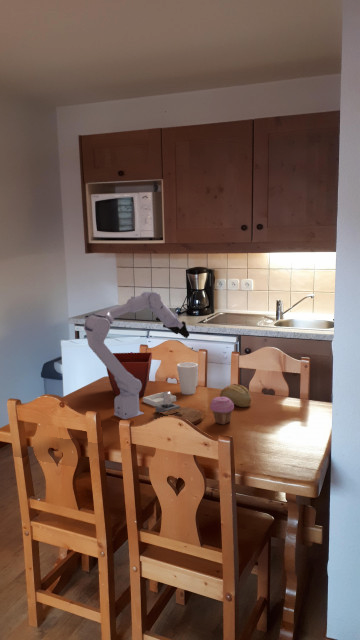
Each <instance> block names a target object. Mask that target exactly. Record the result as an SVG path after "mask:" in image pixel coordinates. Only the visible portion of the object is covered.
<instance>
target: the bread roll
mask: <svg viewBox="0 0 360 640" xmlns="http://www.w3.org/2000/svg"><path fill="white" fill-rule="evenodd" d="M219 397H227V398H229V399H230V400H231V401H232V402H233V404H234V406H237V407H241V408H247V407H250V405H251V403H252V397H251V394H250V391H249V389H248V388H247V387H245V386H244V385H242V384H237V383H233V384H231V385H227V386H225V387H224V388H223V389H222V390H221V391H220V394H219Z"/></svg>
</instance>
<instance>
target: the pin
mask: <svg viewBox="0 0 360 640" xmlns="http://www.w3.org/2000/svg"><path fill="white" fill-rule="evenodd" d="M163 392H164V393H163V395H164V408H170V407H171V403H172V402H171V395H172V392H171V391H163Z"/></svg>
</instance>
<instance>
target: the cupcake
mask: <svg viewBox="0 0 360 640" xmlns="http://www.w3.org/2000/svg"><path fill="white" fill-rule="evenodd" d="M234 408H235V405H234V404H233V402H232V401H231V400H230V399H229V398H227V397H220V396H216V397H214V398H213V399H211V402H210V410H211V411H212V414H213V415H212V416H213V418H214V421H215V423H217V424H220V425H225V424H227V423H230V422H231V420H232V413H233V411H234Z"/></svg>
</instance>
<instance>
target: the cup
mask: <svg viewBox="0 0 360 640" xmlns="http://www.w3.org/2000/svg"><path fill="white" fill-rule="evenodd" d="M154 407H155V409H154V410H155V413H157V412H166V411H169V410H172V409H179V408H180V409H181V405H178V404H175V403H174V402H171V407H170V408H164V404H160V405H157V406H154Z"/></svg>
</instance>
